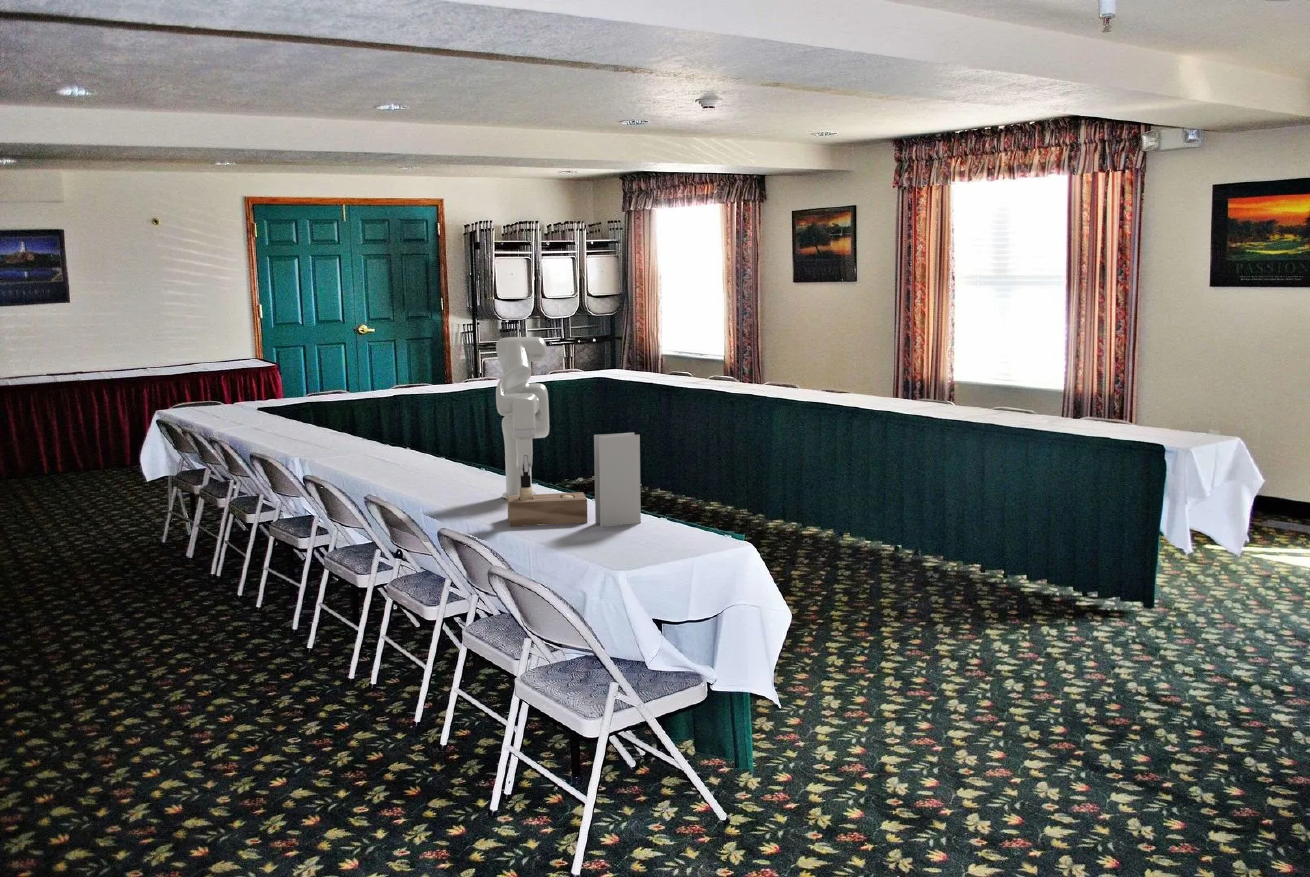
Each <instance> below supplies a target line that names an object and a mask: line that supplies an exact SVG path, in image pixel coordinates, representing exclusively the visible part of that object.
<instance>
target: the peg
mask: <svg viewBox="0 0 1310 877" xmlns="http://www.w3.org/2000/svg"><path fill="white" fill-rule="evenodd" d="M532 490H533V487H527V488H522V487H520V500H532Z"/></svg>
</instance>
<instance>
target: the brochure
mask: <svg viewBox="0 0 1310 877" xmlns="http://www.w3.org/2000/svg"><path fill="white" fill-rule="evenodd" d="M640 436H641V435H640V434H636V433H635V432H623V433H622V432H621V433H619V432H618V433H607V434H606V433H605V434H594V435H593V442H594V443H593V450H594V451H593V452H594V454H593V455H594V504H595V506H594V507H595V508H594V509H595V510H594V511H595V518H594V519H595V524H600V528H604V527H612V526H613V525H616V526H622V525H621V524H626V525H634V524H641V521H642V519H641V517H642V516H641V515H642V514H641V513H642V512H641V442H640V441H641V437H640ZM613 527H614V526H613Z"/></svg>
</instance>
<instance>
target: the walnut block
mask: <svg viewBox="0 0 1310 877" xmlns="http://www.w3.org/2000/svg"><path fill="white" fill-rule="evenodd" d="M565 495H571V496H573V498H562V496H565ZM506 500H507V501H506V502H507V520H509V521H508V524H510V525H509V527H510V526H511V527H522V526H521V525H531V526H538V525H537V524H551V525H565V524H566V525H567V524H586V523H588V499H587V497H586V495H585V493H584V492H582V491H581V492H580V491H579V492H561V493H560V492H559V493H538V494H537V493H536V494H534V495H532V500H520V495H512V496H507V499H506Z"/></svg>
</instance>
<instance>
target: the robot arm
mask: <svg viewBox="0 0 1310 877" xmlns="http://www.w3.org/2000/svg"><path fill="white" fill-rule="evenodd" d="M495 349H496V355H497V358H498V361H499V364H500V365H501V367H502V371H503V376H501V377H500V379H499V381H498V382H497V385H496V389H495V404H496V410H497V413H498V414H499V415H500V416H503V417H502V420H501V429H502V430H501V431H502V434H503V442H504V454H505V455H504V461H505V488H506V489H505V492H503V493H502V496H501V497H502V498H503V499H504V498H505V499H504V500H507V496H512V495H520V487H522V488H527V487H532V486H533V484H532V467H533V439H543V438H546V437H547V436H548V435H549V433H550V410H549V409H550V408H549V406H550V405H549V394H548V389H547V387H546V385H544V384H543V383H539V382H537V383H531V382H530V383H529V382H528V380H529V379H530V378H531V376H532V364H531V363H532V362H544V361H545V360H546V359H547V355H548V354H547V352H548V350H547V349H548V348H547V343H546V341H545V339H544V338H542V337H541V336H510V337H509V336H507V337H501V338H499V339H498V340H497V341H496V344H495ZM532 488H533V487H532ZM534 494H537V492H535V491H532V495H534Z"/></svg>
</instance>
